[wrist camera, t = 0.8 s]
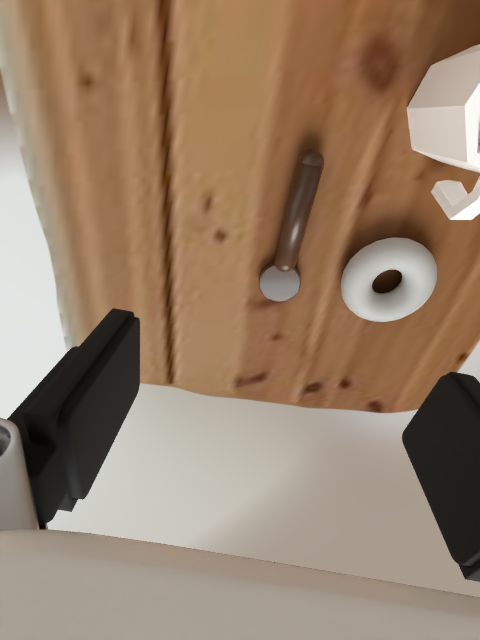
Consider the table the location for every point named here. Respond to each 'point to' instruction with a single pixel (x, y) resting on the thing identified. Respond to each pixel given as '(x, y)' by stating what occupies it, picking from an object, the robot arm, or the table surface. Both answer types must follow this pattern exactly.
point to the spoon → (293, 230)
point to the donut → (382, 257)
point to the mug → (450, 126)
